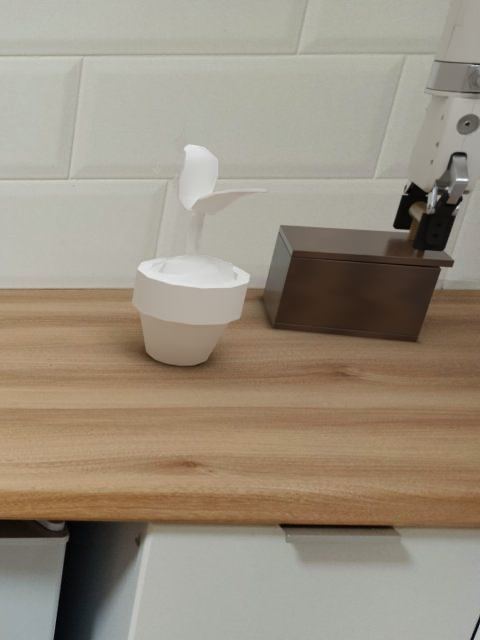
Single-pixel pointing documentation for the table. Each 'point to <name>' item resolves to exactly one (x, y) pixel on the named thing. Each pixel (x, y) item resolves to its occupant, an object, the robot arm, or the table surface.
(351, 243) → the lid
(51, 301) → the table surface
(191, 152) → the potted plant
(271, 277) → the chest
